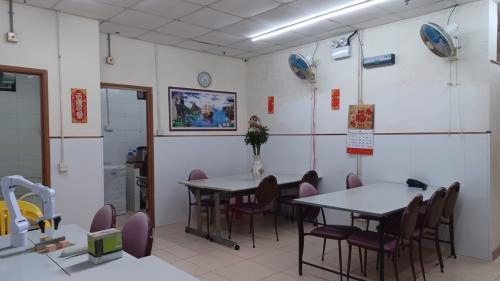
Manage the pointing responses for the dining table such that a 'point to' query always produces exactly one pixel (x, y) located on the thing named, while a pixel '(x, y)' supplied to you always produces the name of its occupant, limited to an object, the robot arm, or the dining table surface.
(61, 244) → the tile
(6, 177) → the robot arm
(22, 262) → the dining table surface
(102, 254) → the tea box
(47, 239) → the scraper
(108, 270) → the dining table surface
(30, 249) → the board
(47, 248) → the pink block
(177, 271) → the dining table surface
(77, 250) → the tube
